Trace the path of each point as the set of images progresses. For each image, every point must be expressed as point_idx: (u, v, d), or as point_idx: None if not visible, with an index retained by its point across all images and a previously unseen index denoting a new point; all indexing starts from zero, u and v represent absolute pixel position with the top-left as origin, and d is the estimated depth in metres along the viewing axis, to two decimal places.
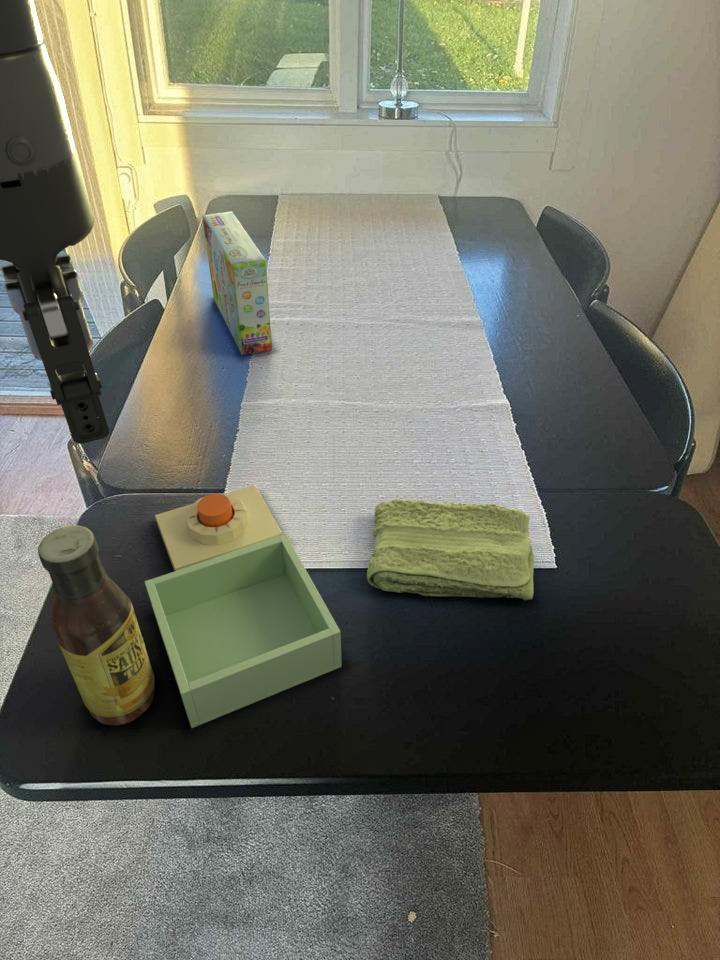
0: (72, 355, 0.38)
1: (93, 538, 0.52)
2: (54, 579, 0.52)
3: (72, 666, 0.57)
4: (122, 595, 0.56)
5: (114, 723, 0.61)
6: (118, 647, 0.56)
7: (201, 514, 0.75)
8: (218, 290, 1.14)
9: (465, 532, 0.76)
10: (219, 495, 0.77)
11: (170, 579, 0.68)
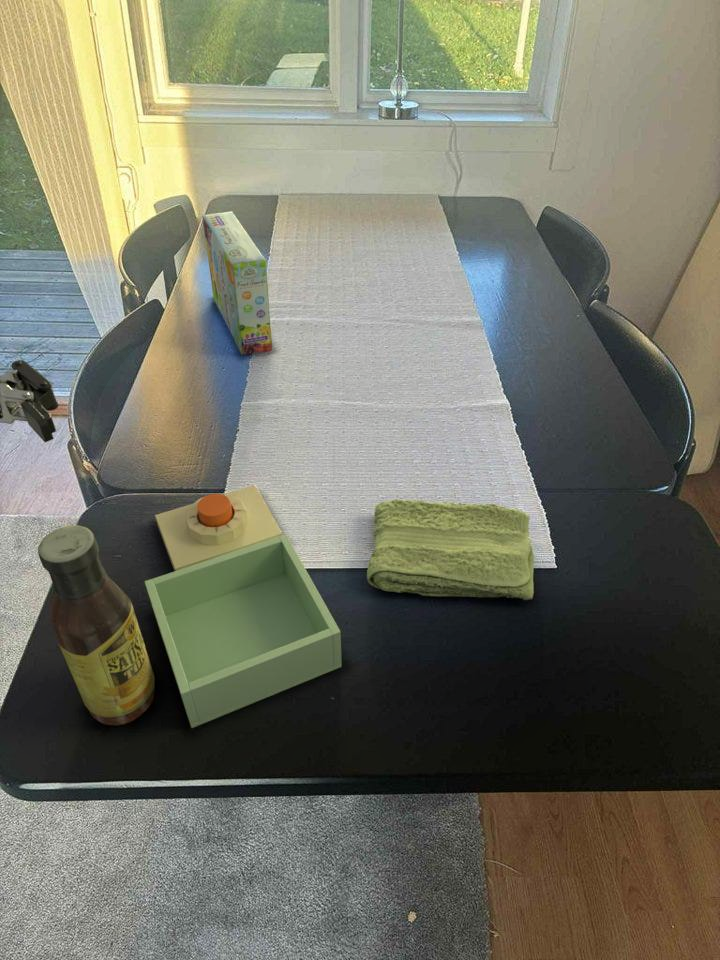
0: None
1: (93, 538, 0.52)
2: (54, 579, 0.52)
3: (72, 666, 0.57)
4: (122, 595, 0.56)
5: (114, 723, 0.61)
6: (118, 647, 0.56)
7: (201, 514, 0.75)
8: (218, 290, 1.14)
9: (465, 532, 0.76)
10: (219, 495, 0.77)
11: (170, 579, 0.68)
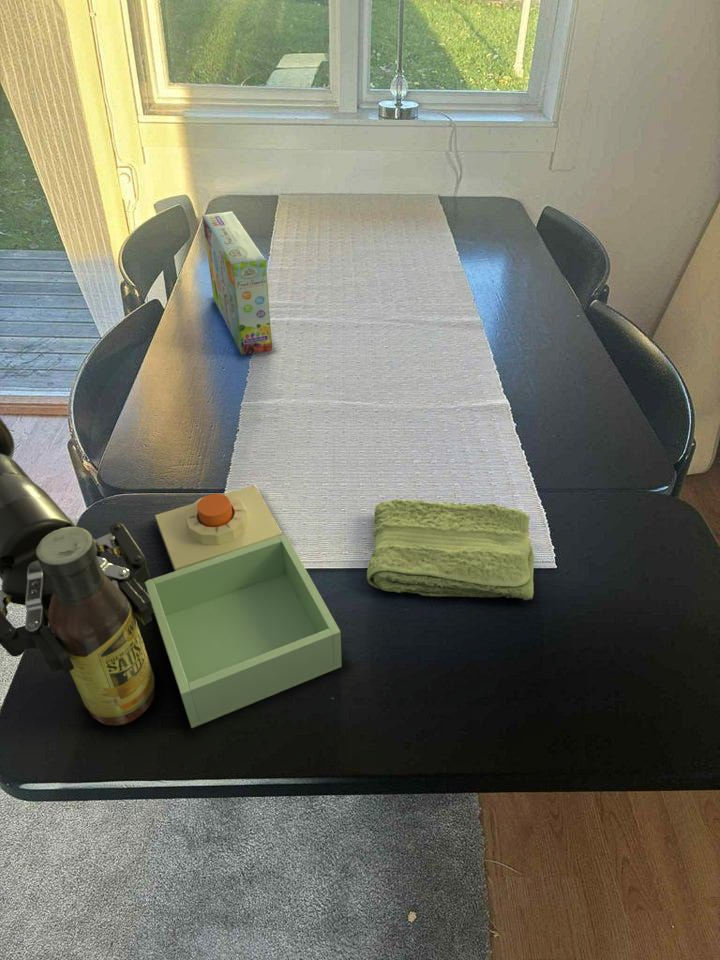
0: None
1: (91, 540, 0.52)
2: (53, 581, 0.52)
3: None
4: (121, 596, 0.56)
5: (114, 723, 0.61)
6: (118, 648, 0.56)
7: (201, 514, 0.75)
8: (218, 290, 1.14)
9: (465, 532, 0.76)
10: (219, 495, 0.77)
11: (170, 579, 0.68)
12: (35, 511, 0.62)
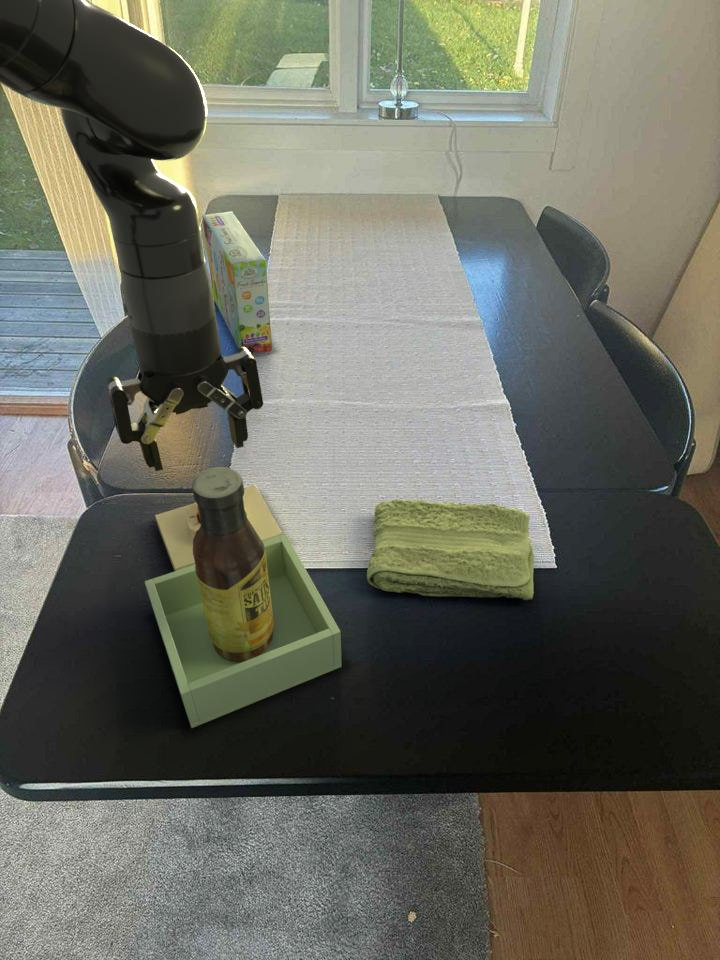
0: None
1: (241, 478, 0.56)
2: (205, 515, 0.56)
3: (210, 601, 0.61)
4: (257, 535, 0.61)
5: (240, 659, 0.66)
6: (254, 583, 0.60)
7: None
8: (218, 290, 1.14)
9: (465, 532, 0.76)
10: None
11: (170, 579, 0.68)
12: (201, 353, 0.61)
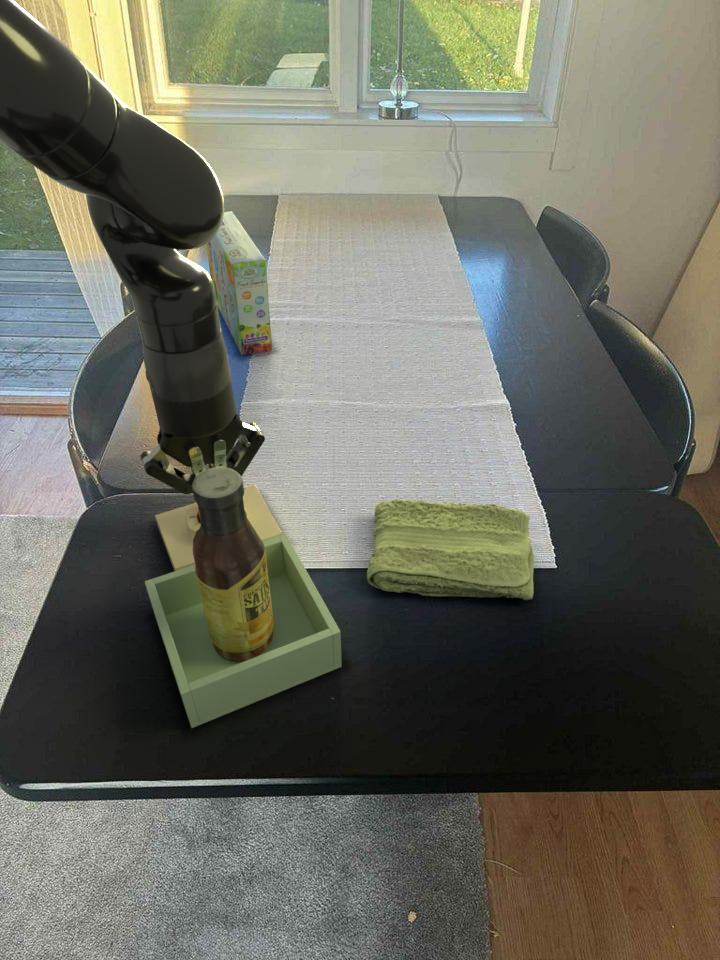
0: None
1: (241, 478, 0.56)
2: (205, 515, 0.56)
3: (210, 601, 0.61)
4: (257, 535, 0.61)
5: (240, 659, 0.66)
6: (254, 583, 0.60)
7: None
8: (218, 290, 1.14)
9: (465, 532, 0.76)
10: None
11: (170, 579, 0.68)
12: (217, 417, 0.65)
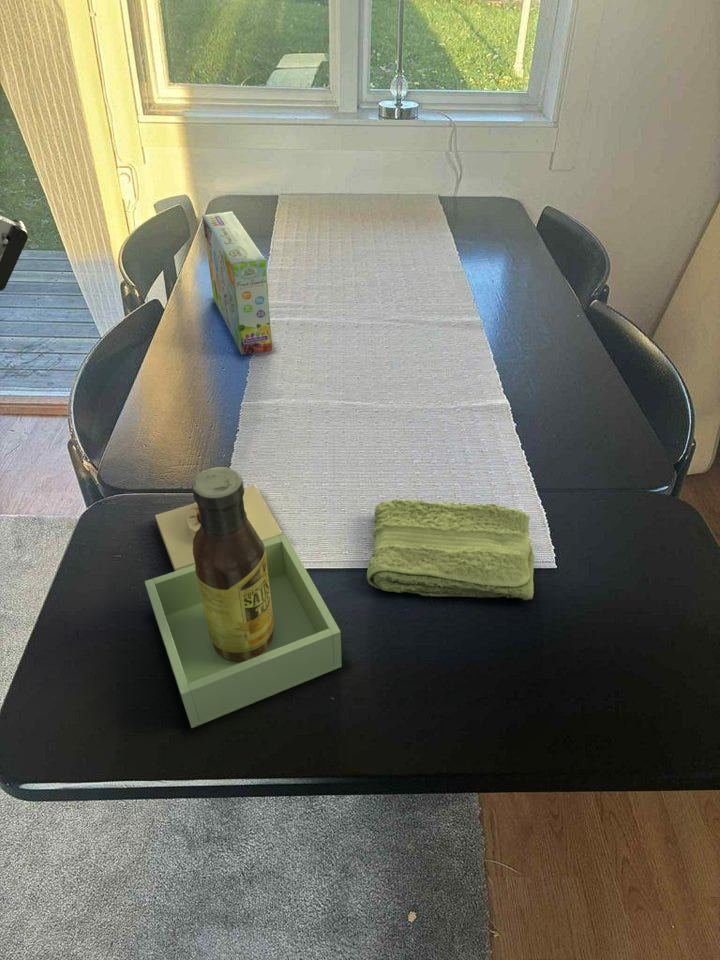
0: None
1: (241, 478, 0.56)
2: (205, 515, 0.56)
3: (210, 601, 0.61)
4: (257, 535, 0.61)
5: (240, 659, 0.66)
6: (254, 583, 0.60)
7: None
8: (218, 290, 1.14)
9: (465, 532, 0.76)
10: None
11: (170, 579, 0.68)
12: None
